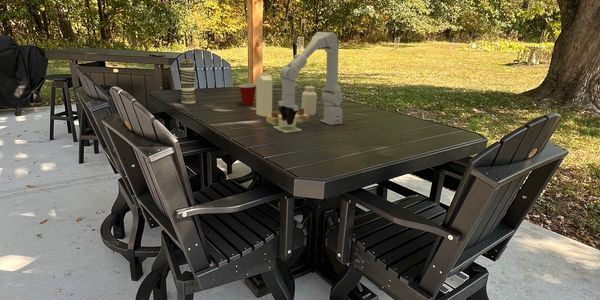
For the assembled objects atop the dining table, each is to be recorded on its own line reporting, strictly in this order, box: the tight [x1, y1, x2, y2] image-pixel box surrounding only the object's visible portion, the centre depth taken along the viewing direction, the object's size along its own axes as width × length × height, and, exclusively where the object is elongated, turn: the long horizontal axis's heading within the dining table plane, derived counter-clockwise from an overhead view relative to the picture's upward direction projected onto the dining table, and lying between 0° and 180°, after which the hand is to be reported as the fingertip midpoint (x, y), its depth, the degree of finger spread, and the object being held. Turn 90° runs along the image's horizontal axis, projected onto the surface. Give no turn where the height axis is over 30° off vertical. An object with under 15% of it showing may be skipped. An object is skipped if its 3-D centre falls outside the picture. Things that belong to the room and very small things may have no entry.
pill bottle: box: [300, 85, 318, 117], centre depth 208 cm, size 8×8×15 cm
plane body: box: [265, 107, 310, 126], centre depth 192 cm, size 20×8×6 cm, turn 122°
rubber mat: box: [273, 125, 303, 134], centre depth 178 cm, size 11×9×1 cm
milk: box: [255, 72, 273, 117], centre depth 202 cm, size 6×6×22 cm
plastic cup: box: [238, 83, 256, 107], centre depth 229 cm, size 11×11×12 cm
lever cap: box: [278, 118, 297, 127], centre depth 177 cm, size 7×4×3 cm, turn 123°
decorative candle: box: [178, 58, 197, 104], centre depth 228 cm, size 9×9×25 cm
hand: (287, 123), depth 177 cm, fingers closed on lever cap, 4 cm apart
